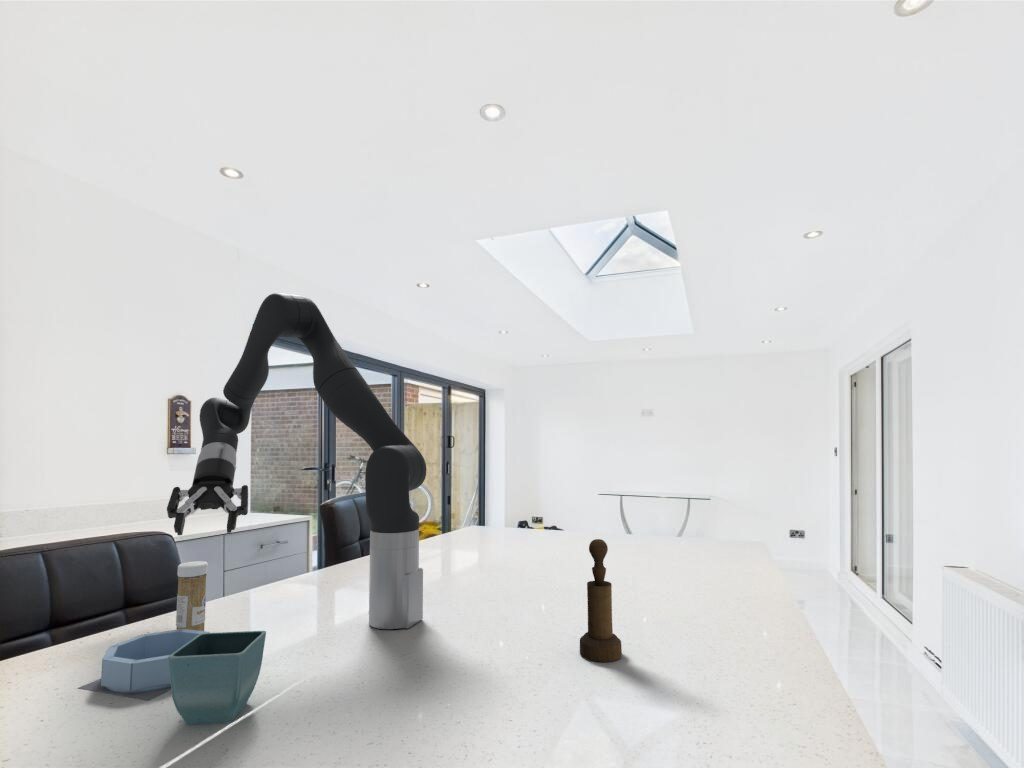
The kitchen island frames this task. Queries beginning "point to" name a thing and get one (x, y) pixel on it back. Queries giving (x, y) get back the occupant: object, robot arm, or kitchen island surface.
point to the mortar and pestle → (599, 612)
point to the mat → (143, 696)
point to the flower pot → (215, 675)
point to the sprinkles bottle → (191, 595)
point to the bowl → (142, 661)
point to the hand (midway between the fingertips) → (204, 531)
